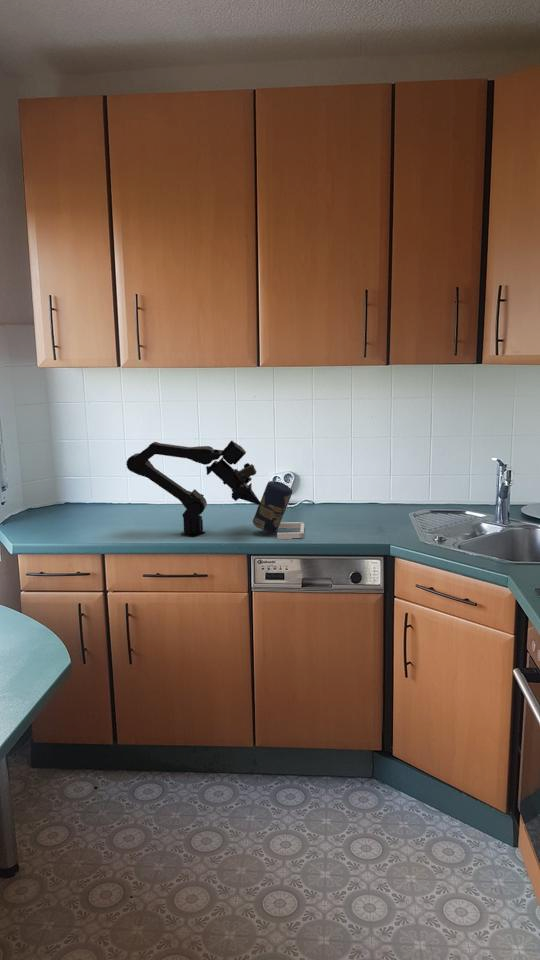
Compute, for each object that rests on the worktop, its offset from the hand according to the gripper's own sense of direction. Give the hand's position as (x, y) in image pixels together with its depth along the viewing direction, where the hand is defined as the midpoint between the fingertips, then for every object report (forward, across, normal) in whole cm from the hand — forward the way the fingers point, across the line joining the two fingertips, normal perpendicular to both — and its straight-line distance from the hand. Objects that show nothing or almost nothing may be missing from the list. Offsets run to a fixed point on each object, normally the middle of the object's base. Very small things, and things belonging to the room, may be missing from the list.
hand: (259, 503), depth 264 cm
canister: (+7, 0, +6) cm, 9 cm away
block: (+16, 0, 0) cm, 16 cm away
